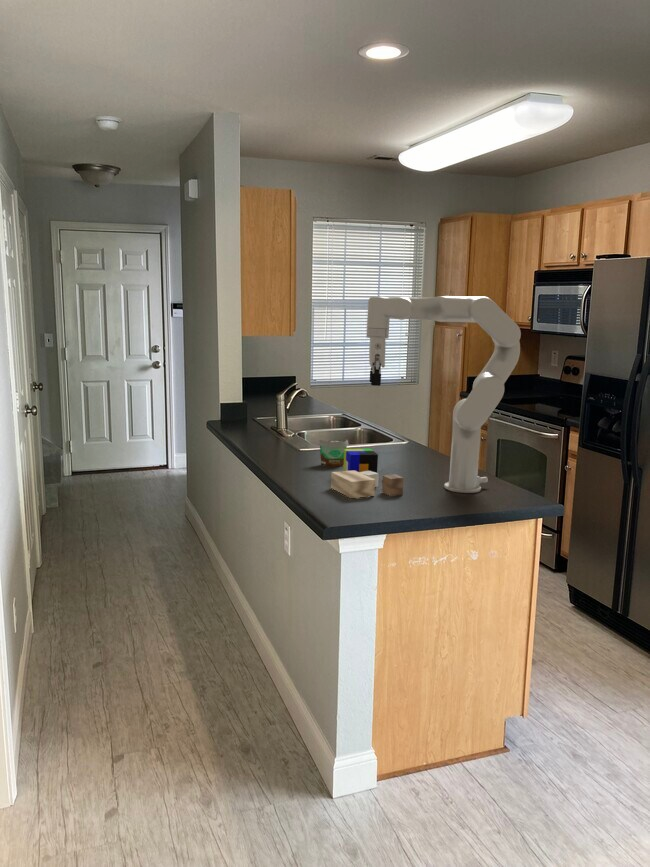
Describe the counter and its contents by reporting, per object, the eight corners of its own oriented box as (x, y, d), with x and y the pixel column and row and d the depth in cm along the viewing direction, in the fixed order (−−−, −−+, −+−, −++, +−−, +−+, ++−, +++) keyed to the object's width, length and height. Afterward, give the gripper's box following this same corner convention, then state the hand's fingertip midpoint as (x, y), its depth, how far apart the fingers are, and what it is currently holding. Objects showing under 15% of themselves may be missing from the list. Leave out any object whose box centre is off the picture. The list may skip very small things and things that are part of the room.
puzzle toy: (349, 482, 253) (350, 454, 251) (343, 475, 263) (344, 449, 261) (376, 482, 255) (378, 454, 253) (369, 475, 265) (370, 448, 263)
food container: (323, 468, 273) (324, 442, 271) (317, 465, 278) (318, 439, 277) (352, 466, 277) (353, 441, 276) (346, 463, 283) (347, 438, 281)
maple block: (354, 487, 248) (354, 470, 247) (374, 497, 236) (375, 479, 234) (330, 489, 244) (331, 472, 243) (350, 499, 232) (351, 481, 231)
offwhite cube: (367, 484, 252) (368, 470, 251) (378, 487, 248) (378, 473, 247) (357, 486, 248) (358, 472, 247) (367, 489, 245) (368, 475, 244)
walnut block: (394, 491, 243) (395, 474, 242) (402, 495, 239) (403, 477, 238) (381, 492, 241) (382, 475, 240) (389, 496, 237) (390, 478, 235)
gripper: (390, 335, 234) (387, 387, 237) (386, 333, 251) (384, 381, 254) (367, 334, 234) (365, 386, 237) (365, 332, 251) (362, 380, 254)
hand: (374, 383), depth 246 cm, fingers open, 9 cm apart
